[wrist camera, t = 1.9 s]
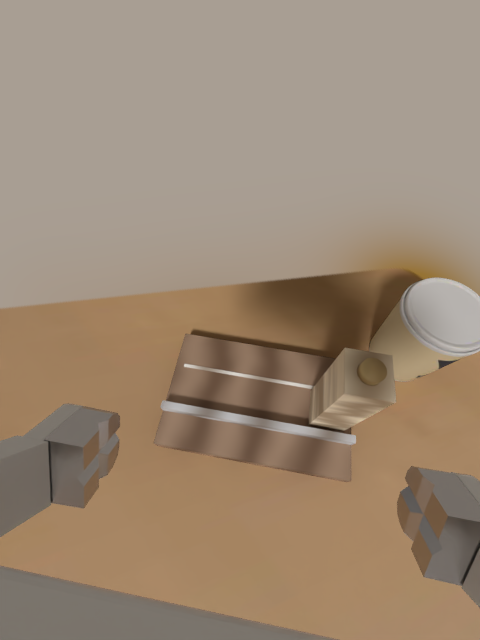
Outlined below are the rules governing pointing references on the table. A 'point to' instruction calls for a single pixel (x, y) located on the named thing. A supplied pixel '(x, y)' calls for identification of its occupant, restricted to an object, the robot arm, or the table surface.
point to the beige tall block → (352, 389)
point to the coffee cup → (430, 328)
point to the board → (251, 408)
